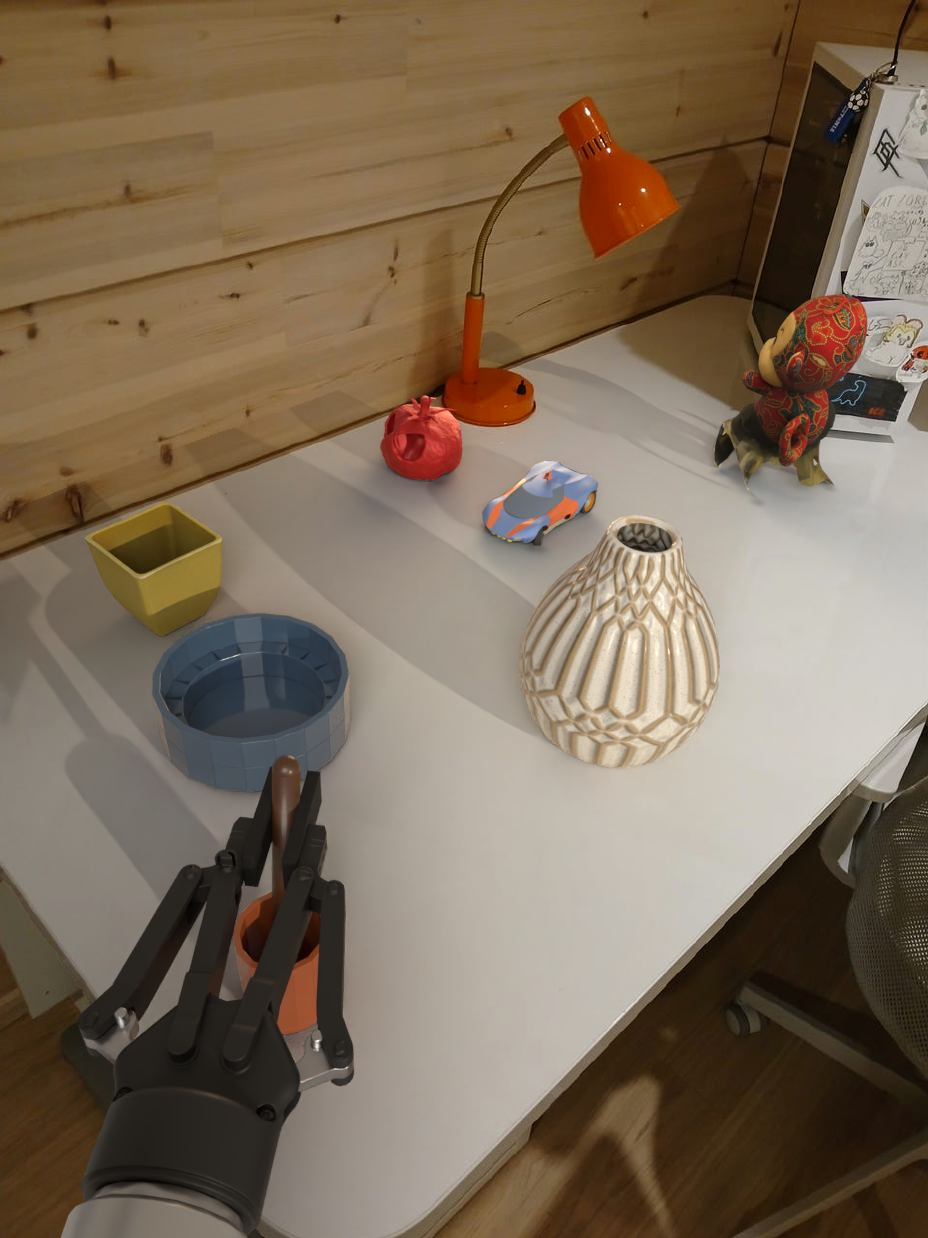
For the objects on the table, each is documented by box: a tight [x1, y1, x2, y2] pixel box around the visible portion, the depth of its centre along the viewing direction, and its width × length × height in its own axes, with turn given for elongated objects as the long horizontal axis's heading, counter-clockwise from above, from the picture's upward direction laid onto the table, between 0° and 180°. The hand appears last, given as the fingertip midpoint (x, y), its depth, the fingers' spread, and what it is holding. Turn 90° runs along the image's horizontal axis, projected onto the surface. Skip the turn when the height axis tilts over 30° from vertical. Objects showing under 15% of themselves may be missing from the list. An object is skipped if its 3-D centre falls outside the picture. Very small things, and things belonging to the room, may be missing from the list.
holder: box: [232, 891, 321, 1035], centre depth 60 cm, size 6×6×7 cm
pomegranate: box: [379, 394, 463, 481], centre depth 112 cm, size 10×10×9 cm
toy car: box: [482, 460, 599, 547], centre depth 106 cm, size 8×15×5 cm, turn 142°
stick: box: [271, 755, 302, 963], centre depth 57 cm, size 2×2×16 cm
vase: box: [518, 514, 721, 769], centre depth 76 cm, size 16×16×20 cm
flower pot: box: [84, 500, 223, 637], centre depth 88 cm, size 9×9×9 cm
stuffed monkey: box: [712, 293, 868, 498], centre depth 108 cm, size 15×17×25 cm
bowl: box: [151, 612, 351, 793], centre depth 78 cm, size 15×15×6 cm
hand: (296, 784), depth 58 cm, fingers closed on stick, 1 cm apart
